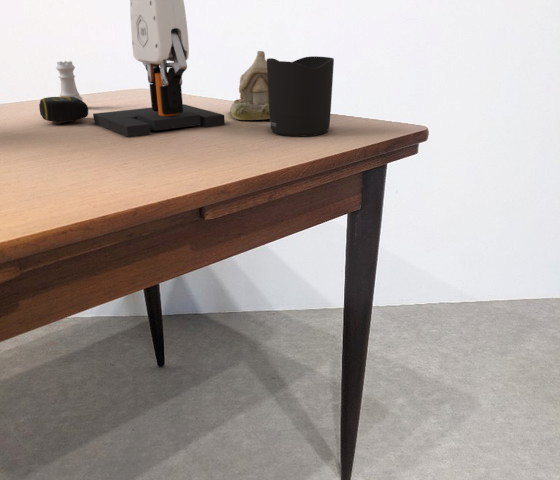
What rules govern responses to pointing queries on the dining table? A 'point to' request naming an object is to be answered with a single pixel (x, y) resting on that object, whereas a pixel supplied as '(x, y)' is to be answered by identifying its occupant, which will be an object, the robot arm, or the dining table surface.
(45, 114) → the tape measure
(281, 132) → the pen holder
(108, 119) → the black u-shaped block
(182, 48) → the robot arm
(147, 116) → the orange peg with base
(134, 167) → the dining table surface
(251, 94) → the ceramic model
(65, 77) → the rook chess piece
